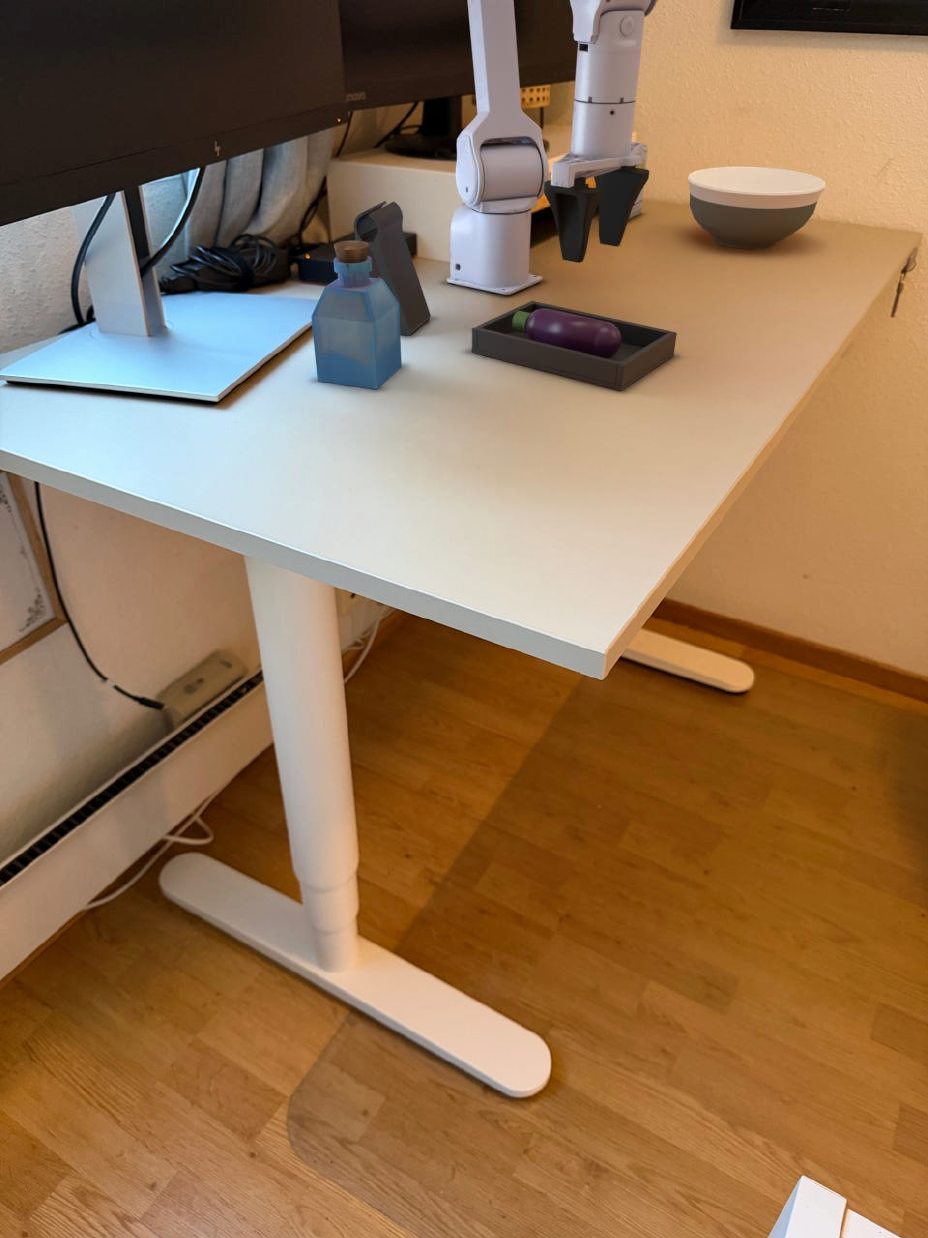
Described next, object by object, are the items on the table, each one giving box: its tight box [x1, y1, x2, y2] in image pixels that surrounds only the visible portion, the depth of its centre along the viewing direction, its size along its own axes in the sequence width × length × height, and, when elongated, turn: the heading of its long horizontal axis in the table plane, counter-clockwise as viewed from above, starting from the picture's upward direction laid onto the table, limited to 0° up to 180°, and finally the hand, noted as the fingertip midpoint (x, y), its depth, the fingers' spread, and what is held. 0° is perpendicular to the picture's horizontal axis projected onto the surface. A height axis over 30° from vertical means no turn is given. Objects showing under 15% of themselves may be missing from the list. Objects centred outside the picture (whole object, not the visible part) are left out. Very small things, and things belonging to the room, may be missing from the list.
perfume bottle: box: [311, 240, 403, 390], centre depth 84 cm, size 6×6×12 cm
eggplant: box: [512, 308, 621, 359], centre depth 91 cm, size 12×4×4 cm, turn 54°
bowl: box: [687, 166, 827, 250], centre depth 127 cm, size 19×19×8 cm
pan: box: [471, 300, 678, 392], centre depth 91 cm, size 17×11×2 cm, turn 54°
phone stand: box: [353, 200, 432, 336], centre depth 96 cm, size 9×6×12 cm, turn 70°
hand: (591, 252), depth 91 cm, fingers open, 7 cm apart
